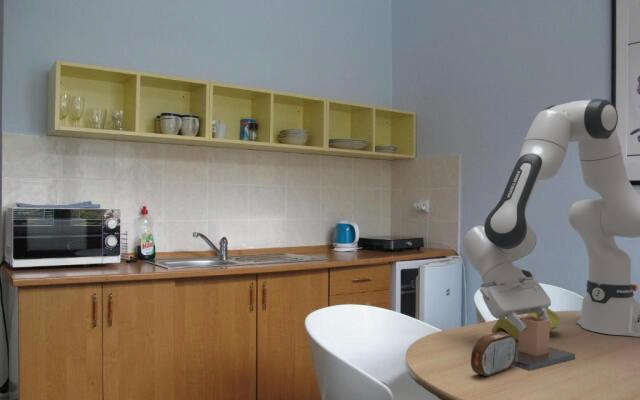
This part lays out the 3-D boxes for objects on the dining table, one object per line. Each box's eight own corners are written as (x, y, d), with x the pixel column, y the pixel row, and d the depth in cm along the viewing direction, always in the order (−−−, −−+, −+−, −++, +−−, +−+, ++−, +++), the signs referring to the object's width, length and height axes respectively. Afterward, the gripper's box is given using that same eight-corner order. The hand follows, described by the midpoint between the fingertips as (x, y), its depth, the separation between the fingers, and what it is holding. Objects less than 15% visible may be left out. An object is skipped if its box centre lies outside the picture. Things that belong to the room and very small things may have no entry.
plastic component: (527, 336, 145) (497, 313, 152) (516, 357, 148) (488, 334, 155) (567, 321, 157) (538, 301, 164) (556, 341, 160) (528, 320, 167)
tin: (505, 364, 127) (507, 328, 127) (518, 367, 125) (519, 330, 125) (468, 377, 117) (470, 338, 117) (481, 381, 115) (483, 341, 115)
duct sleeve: (530, 348, 137) (531, 316, 137) (548, 353, 133) (549, 320, 133) (518, 350, 134) (519, 318, 134) (536, 356, 130) (537, 322, 130)
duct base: (531, 346, 143) (532, 326, 143) (574, 358, 133) (575, 337, 133) (485, 356, 133) (486, 334, 133) (529, 370, 123) (529, 347, 123)
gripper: (484, 276, 133) (517, 325, 125) (535, 271, 145) (569, 316, 137) (469, 291, 137) (500, 340, 129) (520, 285, 148) (552, 329, 140)
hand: (536, 327), depth 133 cm, fingers open, 8 cm apart
